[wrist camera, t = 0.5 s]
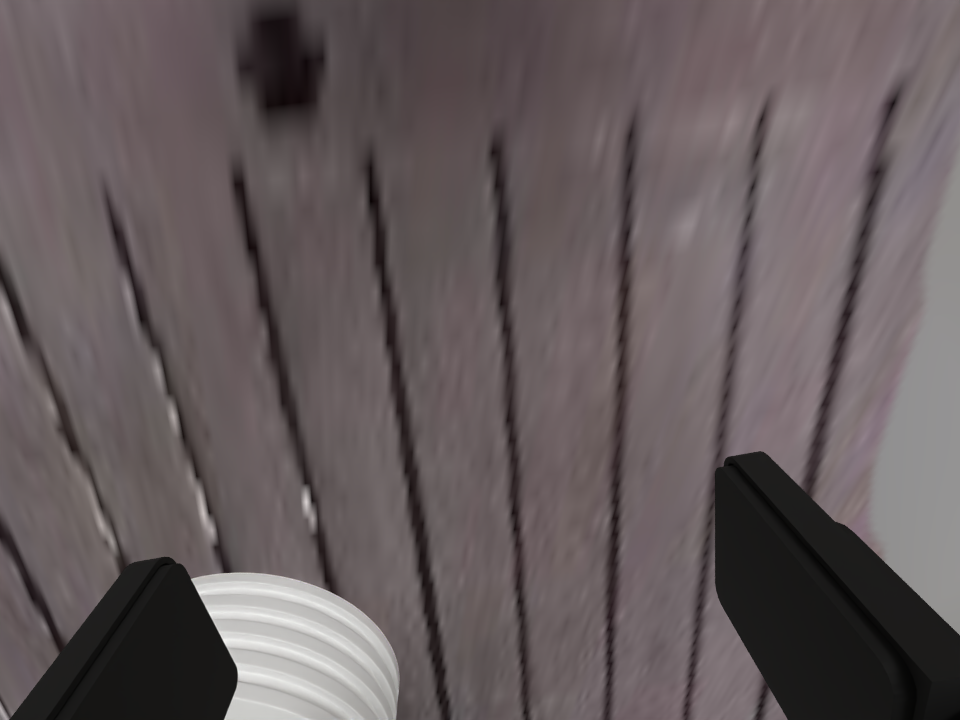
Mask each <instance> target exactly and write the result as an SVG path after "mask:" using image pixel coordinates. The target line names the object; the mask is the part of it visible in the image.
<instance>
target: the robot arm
mask: <svg viewBox="0 0 960 720" xmlns="http://www.w3.org/2000/svg"><path fill="white" fill-rule="evenodd" d="M715 585H716V591H717V594H718V598H719V600H720V603H721V605H722V607H723V609H724V610H725V612H726V614H727V616H728V617H729V619H730V621H731V622H732V624H733V626H734V628H735V629H736V631H737V633H738V634H739V636H740V638H741V640H742V641H743V643H744V645H745V646H746V648H747V650H748V652H749V653H750V655H751V657H752V659H753V660H754V662H755V664H756V665H757V667H758V669H759V671H760V672H761V674H762V676H763V677H764V679H765V681H766V683H767V684H768V686H769V688H770V690H771V691H772V693H773V695H774V696H775V698H776V700H777V702H778V703H779V705H780V707H781V708H782V710H783V712H784V714H785V715H786V717H787V719H788V720H960V635H959V634H958V633H957V632H956V631H955V630H954V629H953V628H951V626H949V624H948V623H946V622H945V621H944V620H943V619H942V618H941V617H940V616H939V615H938V614H937V613H936V612H935V611H934V610H933V609H932V608H931V607H930V606H929V605H928V604H927V603H926V602H925V601H924V600H923V599H922V598H921V597H920V596H919V595H918V594H917V593H916V592H915V591H913V589H912V588H910V587H909V586H908V585H907V584H906V583H905V582H904V581H903V580H902V579H901V578H900V577H899V576H898V575H897V574H896V573H895V572H894V571H893V570H892V569H891V568H890V567H889V566H888V565H887V564H886V563H885V562H884V561H883V560H882V559H881V558H880V557H879V556H878V555H877V554H876V553H875V552H874V551H873V550H871V549H870V548H869V547H868V546H867V545H866V544H865V543H864V542H863V541H862V540H861V539H860V538H859V537H858V536H857V535H856V534H855V533H854V532H853V531H852V530H850V529H849V528H848V527H846V526H845V525H843V524H840V523H838V522H835V521H834V520H833V519H832V518H831V517H830V516H829V515H828V514H827V513H826V512H825V511H824V510H823V509H822V508H821V507H820V506H819V505H818V504H817V503H815V502H814V501H813V500H812V499H811V498H810V497H809V496H808V495H807V494H806V493H805V492H804V491H803V490H802V489H801V488H800V487H799V486H798V485H797V484H796V483H795V482H794V481H793V480H792V479H791V478H790V477H789V476H788V475H787V474H786V473H785V472H784V471H783V470H782V469H781V468H780V467H779V466H778V465H777V464H776V463H775V462H774V461H773V460H772V459H771V458H770V457H769V456H768V455H767V454H766V453H764V452H761V451H759V452H753V453H748V454H742V455H736V456H731V457H728V458H726V459H725V462H724V467H719V468H717V469H716V471H715ZM237 682H238V671H237V667H236V664H235V663H234V661H233V659H232V657H231V655H230V653H229V651H228V649H227V647H226V645H225V643H224V641H223V640H222V638H221V636H220V634H219V632H218V630H217V628H216V626H215V624H214V622H213V620H212V618H211V617H210V615H209V613H208V611H207V609H206V607H205V605H204V603H203V601H202V599H201V597H200V595H199V594H198V592H197V590H196V588H195V586H194V584H193V582H192V580H191V578H190V576H189V574H188V572H187V571H186V569H185V567H184V566H183V565H181V564H176V562H175V561H174V560H173V559H172V558H170V557H161V558H156V559H150V560H144V561H139V562H134V563H132V564H130V565H129V566H127V567H126V568H125V569H124V571H123V572H122V573H121V575H120V576H119V577H118V579H117V580H116V581H115V582H114V584H113V585H112V586H111V588H110V589H109V590H108V592H107V593H106V594H105V596H104V597H103V598H102V599H101V601H100V602H99V603H98V605H97V606H96V607H95V609H94V610H93V611H92V613H91V614H90V615H89V616H88V618H87V619H86V620H85V622H84V623H83V624H82V626H81V627H80V628H79V630H78V631H77V632H76V633H75V635H74V636H73V637H72V639H71V640H70V641H69V643H68V644H67V645H66V647H65V648H64V649H63V651H62V652H61V653H60V654H59V656H58V657H57V658H56V660H55V661H54V662H53V664H52V665H51V666H50V668H49V669H48V670H47V671H46V673H45V674H44V675H43V677H42V678H41V679H40V681H39V682H38V683H37V685H36V686H35V687H34V688H33V690H32V691H31V692H30V694H29V695H28V696H27V698H26V699H25V700H24V702H23V703H22V704H21V705H20V707H19V708H18V709H17V711H16V712H15V713H14V715H13V716H12V717H11V719H10V720H224V719H225V716H226V714H227V711H228V709H229V706H230V704H231V701H232V698H233V696H234V693H235V691H236V687H237Z"/></svg>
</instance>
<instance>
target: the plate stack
mask: <svg viewBox="0 0 960 720" xmlns="http://www.w3.org/2000/svg"><path fill="white" fill-rule="evenodd" d="M191 580H192V582H193V584H194V586H195V588H196V590H197V592H198V594H199V595H200V597H201V599H202V601H203V603H204V605H205V607H206V609H207V611H208V613H209V615H210V617H211V618H212V620H213V622H214V624H215V626H216V628H217V630H218V632H219V634H220V636H221V638H222V640H223V641H224V643H225V645H226V647H227V649H228V651H229V653H230V655H231V657H232V659H233V661H234V663H235V664H236V667H237V671H238V682H237V687H236V691H235V693H234V696H233V698H232V701H231V704H230V706H229V709H228V711H227V714H226V716H225V719H224V720H396V714H397V701H398V694H399V682H400V677H399V668H398V663H397V660H396V656H395V654H394V651H393V649H392V647H391V645H390V643H389V642H388V640H387V638H386V637H385V635H384V634H383V633H382V631H381V630H380V629H379V628H378V627H377V625H376V624H375V623H374V622H373V621H372V620H371V619H370V618H369V617H368V616H366V615H365V614H364V613H363V612H362V611H360V610H359V609H358V608H356V607H355V606H354V605H352V604H351V603H349V602H347V601H346V600H344V599H342V598H341V597H339V596H337V595H335V594H333V593H331V592H329V591H327V590H324V589H322V588H320V587H317V586H314V585H311V584H309V583H305V582H302V581H299V580H295V579H291V578H287V577H282V576H276V575H269V574H260V573H222V574H213V575H207V576H201V577H197V578H193V579H191Z"/></svg>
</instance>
